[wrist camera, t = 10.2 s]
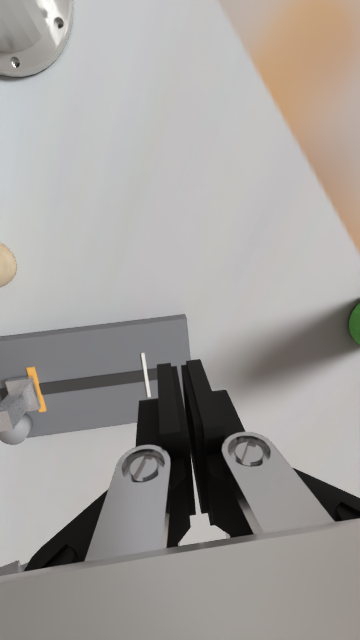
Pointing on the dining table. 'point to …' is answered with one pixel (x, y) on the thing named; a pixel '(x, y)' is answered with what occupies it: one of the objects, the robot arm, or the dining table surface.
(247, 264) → the dining table surface
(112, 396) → the console
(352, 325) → the wine bottle
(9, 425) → the fader
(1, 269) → the candle
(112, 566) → the robot arm
